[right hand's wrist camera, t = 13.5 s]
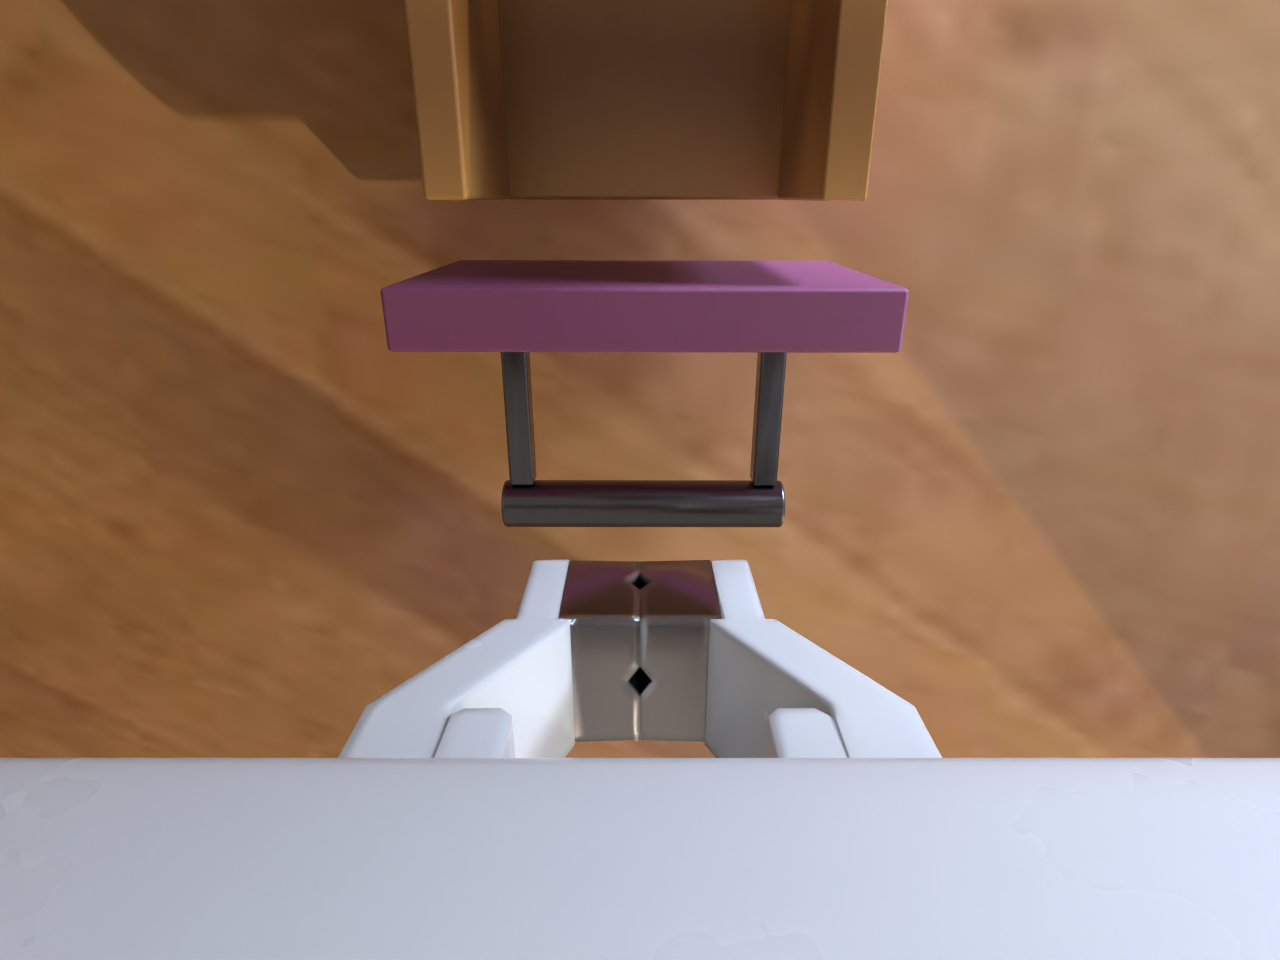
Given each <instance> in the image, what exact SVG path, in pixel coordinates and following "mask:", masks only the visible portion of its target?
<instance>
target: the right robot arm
mask: <svg viewBox="0 0 1280 960" xmlns="http://www.w3.org/2000/svg"><path fill="white" fill-rule="evenodd" d="M614 740H664V741H701V742H705V745H706V746H707V747H708V749H709V750H710V751H711V752H712V753H713V754H714V756H715V757H716V758H564V757H565V756H566V755H567V754H568V753H569V752H570V750H571V749H572V748H573V747H574V746H575V742H578V741H614ZM0 960H1280V758H942V757H941V755H940V753H939V751H938V749H937V747H936V746H935V744H934V742H933V740H932V738H931V736H930V734H929V733H928V731H927V729H926V727H925V725H924V723H923V721H922V720H921V718H920V716H919V714H918V712H917V710H916V708H915V707H914V706H913V705H911V704H910V703H908V702H907V701H905V700H903V699H902V698H900V697H899V696H897V695H895V694H894V693H892V692H891V691H889V690H887V689H886V688H884V687H883V686H881V685H879V684H878V683H876V682H875V681H873V680H871V679H870V678H868V677H867V676H865V675H863V674H862V673H860V672H859V671H857V670H855V669H854V668H852V667H851V666H849V665H847V664H846V663H844V662H843V661H841V660H839V659H838V658H836V657H835V656H833V655H831V654H830V653H828V652H827V651H825V650H823V649H822V648H820V647H819V646H817V645H815V644H814V643H812V642H811V641H809V640H807V639H806V638H804V637H803V636H801V635H799V634H798V633H796V632H795V631H793V630H791V629H790V628H788V627H787V626H785V625H783V624H782V623H780V622H779V621H777V620H775V619H765V617H764V614H763V611H762V608H761V604H760V601H759V598H758V594H757V591H756V588H755V585H754V581H753V578H752V575H751V571H750V568H749V565H748V562H747V561H746V560H744V559H742V560H721V561H710V560H689V561H646V562H631V561H575V560H571V561H569V560H536V561H534V562H533V563H532V564H531V567H530V571H529V574H528V577H527V581H526V584H525V587H524V591H523V594H522V597H521V601H520V604H519V607H518V611H517V614H516V617H515V619H505V620H503V621H501V622H500V623H498V624H497V625H495V626H493V627H492V628H490V629H488V630H487V631H485V632H484V633H482V634H480V635H479V636H477V637H476V638H474V639H472V640H471V641H469V642H468V643H466V644H464V645H463V646H461V647H460V648H458V649H456V650H455V651H453V652H452V653H450V654H448V655H447V656H445V657H444V658H442V659H440V660H439V661H437V662H435V663H434V664H432V665H431V666H429V667H427V668H426V669H424V670H423V671H421V672H419V673H418V674H416V675H415V676H413V677H411V678H410V679H408V680H407V681H405V682H403V683H402V684H400V685H399V686H397V687H395V688H394V689H392V690H391V691H389V692H387V693H386V694H384V695H382V696H381V697H379V698H378V699H376V700H374V701H373V702H371V703H370V704H368V705H367V706H366V707H365V709H364V711H363V713H362V715H361V717H360V718H359V720H358V722H357V724H356V726H355V728H354V729H353V731H352V733H351V735H350V737H349V739H348V740H347V742H346V744H345V746H344V748H343V750H342V751H341V753H340V755H339V757H338V758H0Z"/></svg>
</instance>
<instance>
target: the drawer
mask: <svg viewBox="0 0 1280 960" xmlns="http://www.w3.org/2000/svg"><path fill="white" fill-rule="evenodd" d="M887 6H888V0H404V8H405V17H406V27H407V37H408V47H409V56H410V66H411V76H412V86H413V95H414V105H415V115H416V124H417V134H418V144H419V154H420V163H421V173H422V183H423V192H424V196H425V198H426V199H428V200H493V199H780V200H815V201H864V200H866V197H867V188H868V179H869V170H870V161H871V152H872V143H873V134H874V124H875V115H876V106H877V97H878V88H879V79H880V70H881V61H882V52H883V43H884V34H885V25H886V16H887ZM908 294H909V292H908V289H906V288H903V287H900V286H898V285H895V284H892V283H889V282H886V281H883V280H880V279H878V278H875V277H872V276H869V275H866V274H863V273H860V272H858V271H855V270H852V269H849V268H846V267H843V266H840V265H838V264H835V263H832V262H829V261H595V260H460V261H457V262H454V263H451V264H448V265H446V266H443V267H440V268H437V269H434V270H432V271H429V272H426V273H423V274H420V275H418V276H415V277H412V278H409V279H406V280H404V281H401V282H398V283H395V284H392V285H390V286H387V287H384V288H382V289H381V298H382V306H383V314H384V322H385V329H386V337H387V345H388V349H389V350H390V351H392V352H501V362H502V376H503V390H504V404H505V418H506V432H507V446H508V460H509V474H510V480H507V481H505V483H504V486H503V491H502V518H503V522H504V525H505V526H507V527H780V526H782V524H783V520H784V515H785V494H784V488H783V485H782V483H781V481H777V471H778V458H779V445H780V432H781V419H782V406H783V393H784V380H785V367H786V355H787V352H899V351H900V349H901V345H902V338H903V330H904V323H905V316H906V308H907V301H908ZM529 352H758V357H757V373H756V389H755V405H754V421H753V437H752V453H751V469H750V478H751V480H752V481H699V480H535V479H536V460H535V442H534V424H533V406H532V389H531V371H530V353H529Z"/></svg>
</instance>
